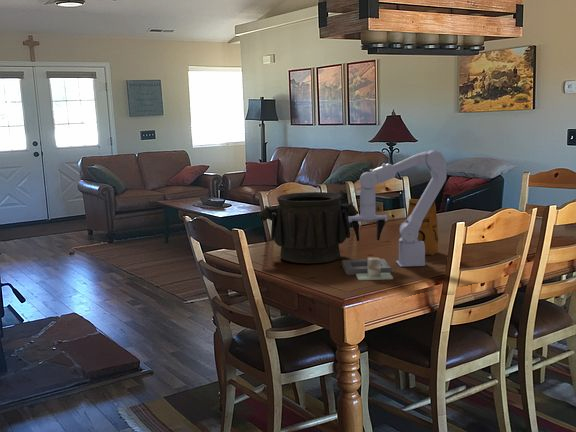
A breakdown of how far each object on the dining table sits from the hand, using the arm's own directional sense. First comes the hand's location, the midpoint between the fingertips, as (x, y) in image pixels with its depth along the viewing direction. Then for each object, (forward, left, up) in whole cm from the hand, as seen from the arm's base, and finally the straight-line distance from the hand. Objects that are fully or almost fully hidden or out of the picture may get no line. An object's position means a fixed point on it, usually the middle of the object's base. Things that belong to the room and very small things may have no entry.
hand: (367, 240), depth 240 cm
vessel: (+21, -14, -10) cm, 27 cm away
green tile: (+1, +18, -9) cm, 21 cm away
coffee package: (-25, -16, -10) cm, 31 cm away
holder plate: (+2, +7, -9) cm, 12 cm away
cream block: (+1, +18, -9) cm, 20 cm away
